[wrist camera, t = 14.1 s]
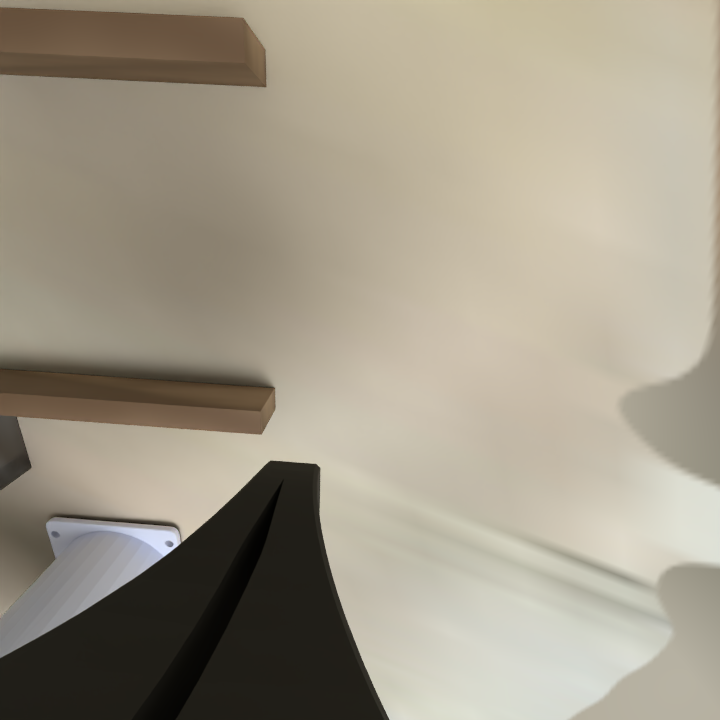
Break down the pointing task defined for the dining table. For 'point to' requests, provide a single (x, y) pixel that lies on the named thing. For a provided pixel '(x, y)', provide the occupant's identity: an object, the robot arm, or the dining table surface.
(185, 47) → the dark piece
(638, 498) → the dining table surface
